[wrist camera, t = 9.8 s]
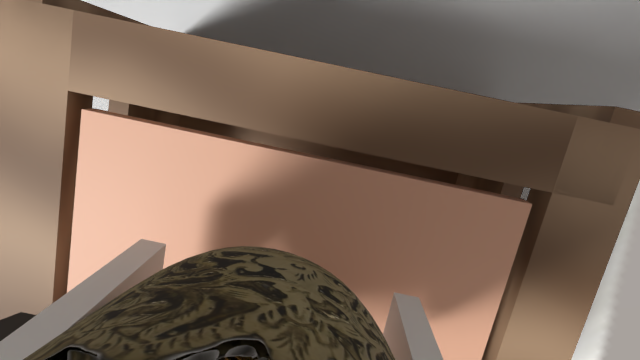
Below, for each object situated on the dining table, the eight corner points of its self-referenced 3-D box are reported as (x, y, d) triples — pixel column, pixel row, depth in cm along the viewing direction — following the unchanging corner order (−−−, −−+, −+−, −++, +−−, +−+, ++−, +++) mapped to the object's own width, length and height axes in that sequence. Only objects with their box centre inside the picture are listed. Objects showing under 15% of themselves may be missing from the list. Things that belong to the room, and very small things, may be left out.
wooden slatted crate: (173, 39, 27) (-20, -27, 13) (495, 107, 27) (679, 120, 12) (137, 328, 32) (-35, 528, 17) (413, 387, 32) (477, 638, 17)
